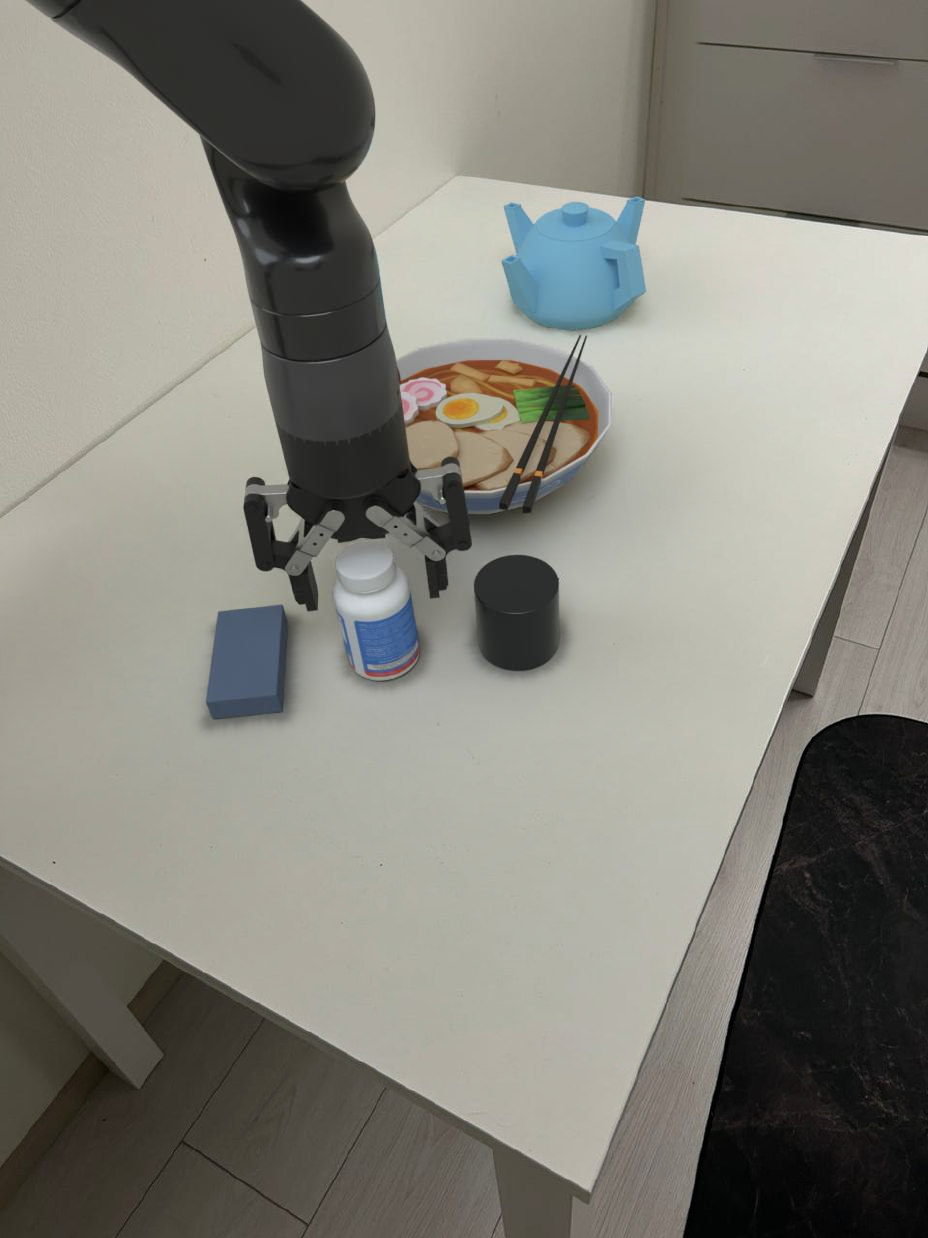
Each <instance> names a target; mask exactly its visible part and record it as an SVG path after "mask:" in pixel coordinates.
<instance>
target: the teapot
mask: <svg viewBox="0 0 928 1238" xmlns="http://www.w3.org/2000/svg"><path fill="white" fill-rule="evenodd" d="M645 204H646V199H645V198H642V197H640V196H634V197H632V198H629V199H626V203H625V205H624V207H623V209H622V210H621V212H620V214H619V216H618V218H617V220H615V218H614V217H613V216H612V215H610V213H608V212H606V211H604V210H602V209H599V208H596V207H590V206H589V204H587V203H585V202H583V201H582V202H581V201H570V202H567V203H564V204H563V205H562V206H561V208H556V209H553V210H551V211H550V210H549V211H548V212H546V213H544V214H542V215H541V216H540V217H538V218H537V219H536V221H535V222H534V223H533V221H532V220H531V218H530V217H529V215H528V213H526V211H525V210H524V208H523V207H522V204H520V203H516V202H513V201H512V202H509V203H507V204H505V205H503V210H504V215H505V217H506V218H505V219H506V221H507V225H508V229H509V233H510V235H511V240H512V244H513V246H514V250H515V254H516V255H515V254H510V255H509V256H506V257H504V258H503V259H501V265H502V268H503V272H504V275H505V279H506V282H507V285H508V289H509V294H510V297H511V300H512V303H513V304H514V305H515V306H516V307H517V308H518V309H519V310H520V311H521V313H523V314H524V315H525V316H526V317H527V318H529V320H531V321H532V322H534V323H536V324H538V325H540V326H543V327H546V328H549V329H554V330H560V331H561V330H563V331H581V330H589V329H594V328H598V327H601V326H604V325H607V324H608V323H609V324H610V322H613V321H615V320H616V319H617V318H619V317H620V316H621V315H622V314H624V312H625V311H626V310H627V309H628V308H629V307H630V306H631V305H632V304H633V303H634V302H635V300H637V299H638V298H640V297H641V296H642V295H644V294H645V293H647V288H646V281H645V275H644V268H643V263H642V256H641V249H640V245H639V244H636V243H637V240H638V235H639V230H640V226H641V222H642V218H643V213H644V208H645Z"/></svg>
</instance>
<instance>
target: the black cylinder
mask: <svg viewBox="0 0 928 1238" xmlns="http://www.w3.org/2000/svg"><path fill="white" fill-rule="evenodd" d="M474 577H475V578H474V580H473V595H474V606H475V616H476V617H475V618H476V619H475V620H476V631H477V642H478V647H479V651H480V653H481V654H482V656H483V657H484V658H485V659H486V661H488V662H489V663H490V664H492V665H494V666H496V667H497V668H500V669H503V670H507V671H515V672H516V671H517V672H520V671H521V672H523V671H528V670H533V669H537V668H538V667H541V666H543V665H544V664H546V663H548V661H550V659H552V658H553V656H555V654H556V653H557V650H558V647H559V645H560V580H559V577H558V574H557V572H556V571H555V569H554V568H553V567H552V566H551V565H550V564H549V563H547V562H546V561H545V560H542V559H540V558H538V557H535V556H531V555H526V554H508V555H504V556H500V557H497V558H494V559H493V560H490V561H489V562H487V563H486V564H485V565H483V566H482V567H481V568H480V569H479V570H478V572H477V573H476V576H474Z"/></svg>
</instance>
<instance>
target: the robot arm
mask: <svg viewBox="0 0 928 1238" xmlns="http://www.w3.org/2000/svg"><path fill="white" fill-rule="evenodd" d="M24 1H25V2H27V3H28V4H29V5H30V6H32V7H33V8H34V9H36V10H37V11H39V13H41V14H42V15H44V17H47V18H49V19H50V21H52V22H53V23H55V24H56V25H58V26H59V27H60V28H62V29H63V30H65V31H66V32H68V34H70V35H72V36H74V37H75V38H77V39H79V40H80V41H81V42H83V43H85V44H86V45H88V46H90V47H91V48H92V49H94V50H95V51H97V52H98V53H100V54H102V55H103V56H105V57H106V58H108V59H109V60H111V61H112V62H114V63H115V64H117V65H118V66H120V68H122V69H123V70H124V71H125V72H127V73H128V74H129V75H130V76H131V77H133V78H134V79H135V80H136V81H137V82H138V83H139V84H141V86H143V88H145V89H146V90H147V91H148V92H150V93H151V94H152V95H153V96H154V97H155V98H156V99H157V100H159V101H160V102H161V103H162V104H163V105H164V106H165V107H166V108H168V109H169V111H171V112H172V113H173V114H175V115H176V116H177V117H178V118H179V119H180V120H181V121H182V122H184V123H185V124H186V125H187V126H188V127H190V128H191V129H192V130H193V131H194V132H196V134H198V136H199V138H200V142H201V145H202V148H203V151H204V154H205V157H206V160H207V162H208V166H209V169H210V172H211V174H212V177H213V180H214V182H215V185H216V189H217V191H218V194H219V196H220V199H221V202H222V205H223V208H224V210H225V212H226V215H227V217H228V220H229V222H230V225H231V227H232V230H233V233H234V236H235V239H236V242H237V246H238V249H239V253H240V256H241V262H242V266H243V271H244V279H245V284H246V288H247V293H248V299H249V303H250V307H251V310H252V315H253V319H254V323H255V327H256V331H257V335H258V338H259V343H260V348H261V349H260V350H261V356H262V357H261V358H262V369H263V377H264V382H265V386H266V391H267V395H268V399H269V403H270V407H271V410H272V415H273V419H274V423H275V426H276V431H277V435H278V439H279V442H280V443H279V444H280V447H281V450H282V454H283V459H284V463H285V466H286V471H287V475H288V481H287V483H283V484H281V483H280V484H266V481H265V480H264V479H262V478H261V477H259V476H252V477H249V478H248V479H247V480H246V482H245V488H244V489H245V490H244V497H243V505H242V506H243V507H242V509H243V513H244V514H243V515H244V518H245V523H246V527H247V532H248V537H249V540H250V541H249V542H250V546H251V550H252V554H253V559H254V563H255V567H256V569H257V570H258V571H261V572H267V573H268V572H271V571H272V570H273V569H279V570H282V571H284V572H285V573H286V574H287V576H288V579H289V582H290V586H291V590H292V594H293V598H294V601H295V602H296V603H297V604H298V605H299V606H301V605H302V606H303V605H305V608H306V611H307V612H315V611H318V610H319V587H318V584H317V580H316V575H315V572H314V567H313V563H312V560H313V558H317V557H318V556H319V555H320V553H321V552H322V550H323V549H324V548H325V547H326V545H327V543H328V542H329V540H330V539H333V540H337V544H341V543H351V542H353V541H356V540H357V541H358V540H359V539H360V540H361V539H366V540H379V539H386V535H388V534H391V535H392V536H393V537H394V538H396V539H397V540H398V541H399V542H401V543H402V544H403V545H405V546H406V547H408V548H412V547H413V548H415V549H417V550H418V551H419V552H420V553H421V554H422V555H424V563H425V564H424V565H425V572H426V579H427V588H428V593H429V599H430V600H432V599H440V597H441V595H440V591H447V589H448V587H449V577H448V575H449V574H448V565H447V556H448V554H449V553H450V552H452V551H455V550H456V551H459V552H466V551H468V550H470V549H471V548H472V546H473V539H472V533H471V525H470V518H469V514H468V511H467V505H466V498H465V492H464V486H463V480H462V474H461V468H460V463H459V460H458V459H457V458H455V457H447V458H445V459H443V460H442V462H441V467H437V468H430V469H424V470H417V468H416V467H415V466H414V465H413V464H412V462H411V460H410V458H409V450H408V443H407V435H406V428H405V421H404V413H403V406H402V398H401V391H400V382H401V378H400V373H399V370H398V367H397V361H396V359H397V357H396V353H395V349H394V344H393V341H392V338H391V334H390V331H389V327H388V321H387V317H386V316H387V315H386V309H385V302H384V295H383V289H382V287H383V286H382V281H381V280H382V279H381V274H380V273H381V272H380V271H381V270H380V265H379V260H378V254H377V250H376V246H375V244H374V243H375V242H374V239H373V237H372V234H371V233H370V230H369V228H368V226H367V224H366V222H365V220H364V219H363V217H362V215H361V214H360V213H359V211H358V210H357V207H356V206H355V204H354V202H353V200H352V197H351V195H350V192H349V189H348V185H347V182H346V181H347V180H348V179H350V178H351V177H352V176H353V175H354V174H355V173H356V171H357V170H358V169H359V168H360V167H361V165H362V163H363V162H364V161H365V159H366V158H367V156H368V153H369V151H370V148H371V145H372V143H373V139H374V135H375V128H376V118H377V117H376V103H375V96H374V91H373V88H372V84H371V81H370V78H369V75H368V73H367V70H366V68H365V66H364V64H363V63H362V61H361V60H360V58H359V56H358V54H357V53H356V52H355V50H354V48H352V46H351V45H350V43H348V41H347V40H346V39H345V38H344V37H343V36H342V35H341V34H340V33H339V32H338V31H337V30H335V29H334V28H333V26H331V25H330V24H329V23H328V22H327V21H326V20H324V19H323V18H322V17H321V16H320V15H319V14H318V13H317V12H316V11H314V9H312V8H311V7H310V6H309V5H308V4H306V3H305V2H304V1H303V0H24ZM421 490H426V491H429V492H430V493H431V494H432V496H433V498H434V499H435V500H437V501H439V503H440V504H445V503H446V505H447V511H448V513H447V516H448V521H449V522H447V523H444V524H440V523H438V522H437V521H436V520H435V519H433V518H432V517H431V516H430V515H429V514H427V513H426V512H425V510H424V508H423V507H422V506H423V505H420V504H419V503H418V502H417V501H416V499H417V498H418V497H419V495H420V492H421ZM286 505H287V507H288V508H289V509H290V511H292V512H294V513H295V514H296V515H297V516H299V517H300V520H299V522H298V525H297V527H296V528H295V530H294V531H293V533H292V535H291V536H290V538H289V539H288V541H283V540H277V537H276V531H275V526H274V521H273V520H276V519H277V518H278V517H279V515H280V509H281V508H282V507H283V506H286Z"/></svg>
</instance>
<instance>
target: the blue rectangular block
mask: <svg viewBox="0 0 928 1238" xmlns="http://www.w3.org/2000/svg"><path fill="white" fill-rule="evenodd" d="M288 625H289V621H288V617H287V613H286V610H285V607H284V605H283V604H275V605H274V604H273V605H266V606H256V607H247V608H237V609H228V610H227V609H226V610H218V611H217V617H216V624H215V630H214V631H215V632H214V639H213V646H212V654H211V661H210V669H209V674H208V675H209V676H208V682H207V690H206V696H205V697H206V698H205V703H206V706H207V708H208V711H209V713H210V716H211V719H212V720H219V719H228V718H238V717H246V716H248V717H249V716H256V715H267V714H276V713H282V712H283V705H284V704H283V703H284V690H285V673H286V659H287V657H286V656H287V642H288V629H289V626H288Z"/></svg>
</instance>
